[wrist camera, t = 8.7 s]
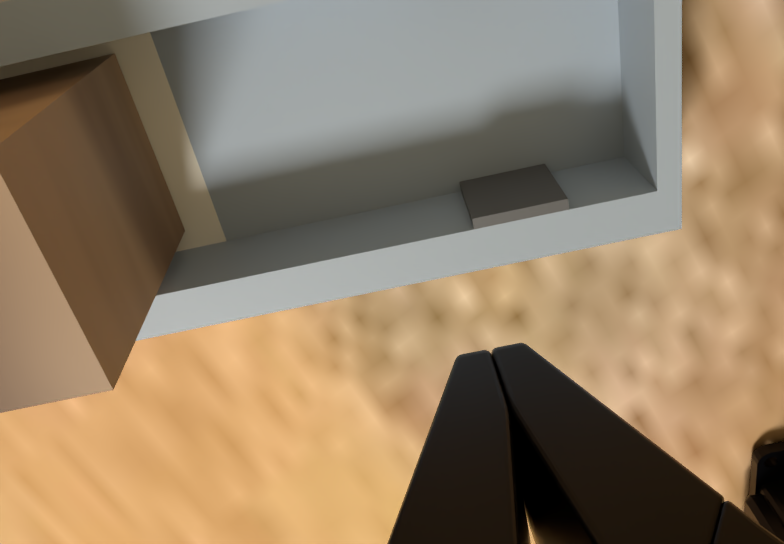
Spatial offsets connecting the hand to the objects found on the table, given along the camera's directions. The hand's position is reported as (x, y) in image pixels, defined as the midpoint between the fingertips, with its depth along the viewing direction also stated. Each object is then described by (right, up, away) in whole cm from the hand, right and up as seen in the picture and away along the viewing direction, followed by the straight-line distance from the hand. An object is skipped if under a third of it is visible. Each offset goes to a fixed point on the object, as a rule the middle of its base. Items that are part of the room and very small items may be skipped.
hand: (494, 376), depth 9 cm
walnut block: (-11, +4, +10) cm, 15 cm away
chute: (-4, +6, +10) cm, 12 cm away
